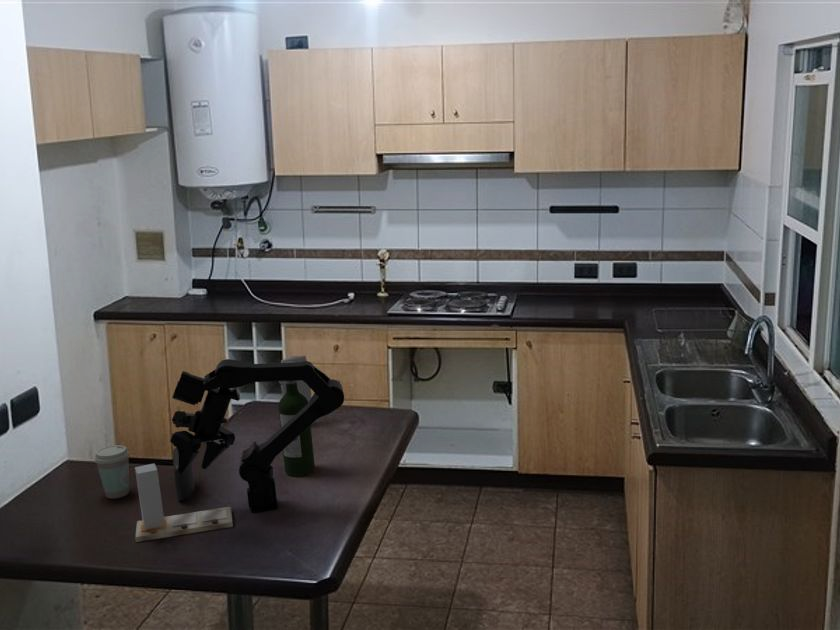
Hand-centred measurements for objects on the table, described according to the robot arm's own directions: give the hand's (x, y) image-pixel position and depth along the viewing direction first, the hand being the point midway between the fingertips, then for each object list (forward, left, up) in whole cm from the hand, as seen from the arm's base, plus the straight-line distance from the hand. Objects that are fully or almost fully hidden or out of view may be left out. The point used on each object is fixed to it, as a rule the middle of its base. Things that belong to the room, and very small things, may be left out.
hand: (192, 470), depth 234 cm
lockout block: (+10, +5, -10) cm, 15 cm away
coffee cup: (+20, -21, -12) cm, 32 cm away
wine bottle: (-27, -18, -12) cm, 35 cm away
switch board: (+3, +5, -11) cm, 13 cm away
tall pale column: (-31, -53, -12) cm, 63 cm away
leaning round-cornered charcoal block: (+4, -17, -12) cm, 21 cm away
